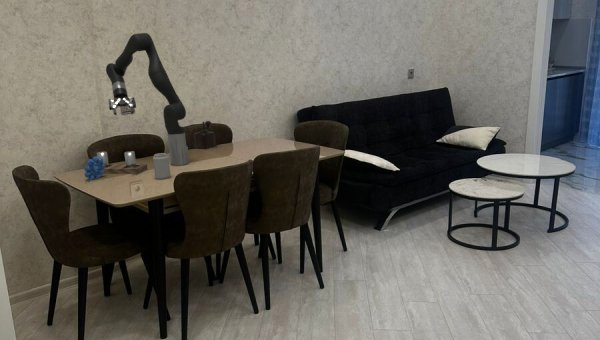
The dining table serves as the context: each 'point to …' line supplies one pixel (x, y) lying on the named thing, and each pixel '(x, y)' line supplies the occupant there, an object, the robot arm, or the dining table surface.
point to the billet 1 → (104, 157)
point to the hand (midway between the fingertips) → (124, 113)
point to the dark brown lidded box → (204, 138)
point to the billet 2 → (130, 159)
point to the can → (161, 166)
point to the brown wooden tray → (125, 169)
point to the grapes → (94, 168)
